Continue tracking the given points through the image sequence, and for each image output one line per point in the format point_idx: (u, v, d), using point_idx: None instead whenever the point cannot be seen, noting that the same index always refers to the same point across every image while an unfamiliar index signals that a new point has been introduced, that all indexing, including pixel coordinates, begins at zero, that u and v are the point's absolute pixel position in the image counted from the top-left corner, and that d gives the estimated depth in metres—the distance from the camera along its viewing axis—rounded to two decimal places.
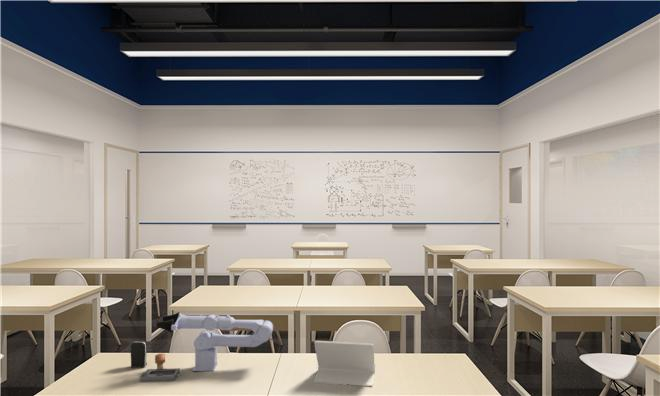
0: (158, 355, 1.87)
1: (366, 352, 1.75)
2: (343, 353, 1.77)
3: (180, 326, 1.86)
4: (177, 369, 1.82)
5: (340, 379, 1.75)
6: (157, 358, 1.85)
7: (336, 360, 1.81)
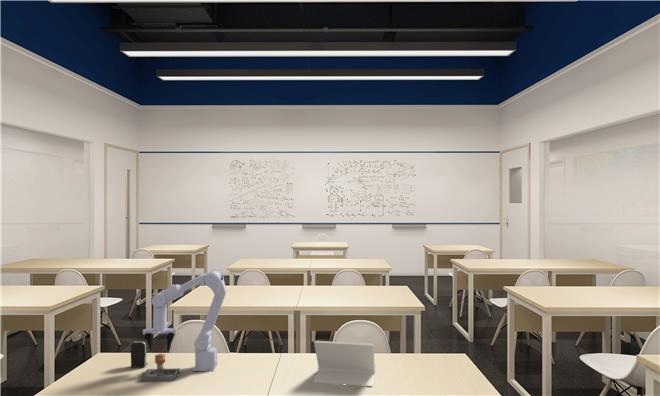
0: (158, 355, 1.87)
1: (366, 352, 1.75)
2: (343, 353, 1.77)
3: (166, 327, 1.88)
4: (177, 369, 1.82)
5: (340, 379, 1.75)
6: (157, 358, 1.85)
7: (336, 360, 1.80)
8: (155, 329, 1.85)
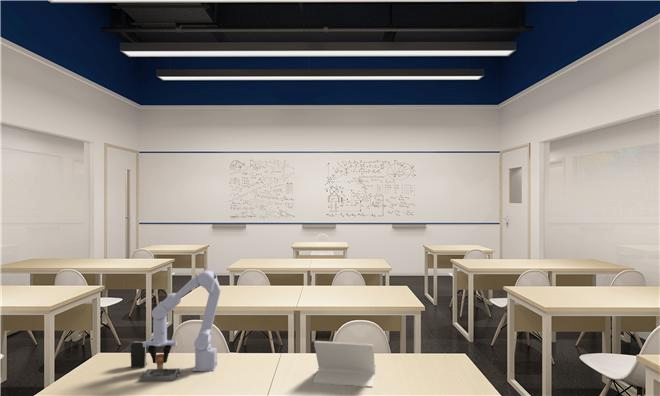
0: (158, 355, 1.87)
1: (366, 352, 1.74)
2: (343, 353, 1.77)
3: (166, 339, 1.88)
4: (177, 369, 1.82)
5: (340, 379, 1.75)
6: (157, 358, 1.85)
7: (336, 360, 1.80)
8: (155, 341, 1.85)
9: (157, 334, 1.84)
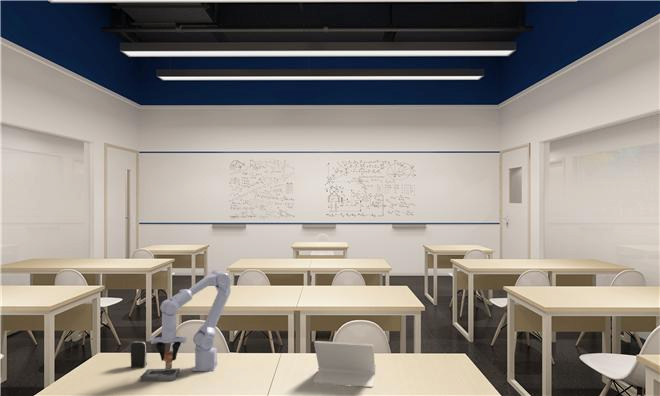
0: (167, 353, 1.79)
1: (366, 353, 1.74)
2: (343, 354, 1.77)
3: (175, 335, 1.81)
4: (177, 369, 1.82)
5: (340, 380, 1.75)
6: (166, 356, 1.78)
7: (336, 360, 1.80)
8: (164, 338, 1.77)
9: (166, 330, 1.77)
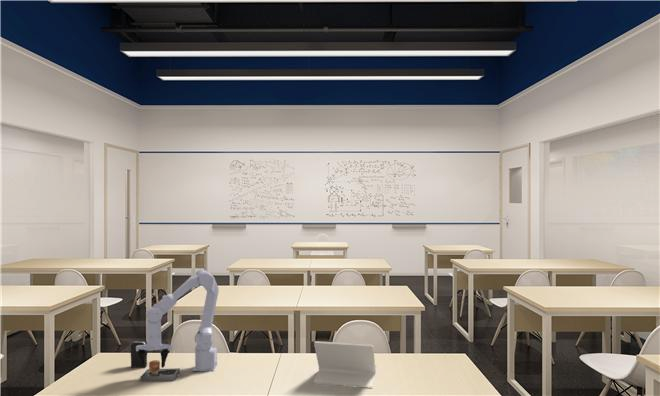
0: (152, 362, 1.79)
1: (366, 353, 1.73)
2: (343, 354, 1.76)
3: None
4: (177, 369, 1.82)
5: (340, 380, 1.74)
6: (152, 365, 1.77)
7: (336, 361, 1.80)
8: (149, 345, 1.77)
9: (151, 338, 1.76)
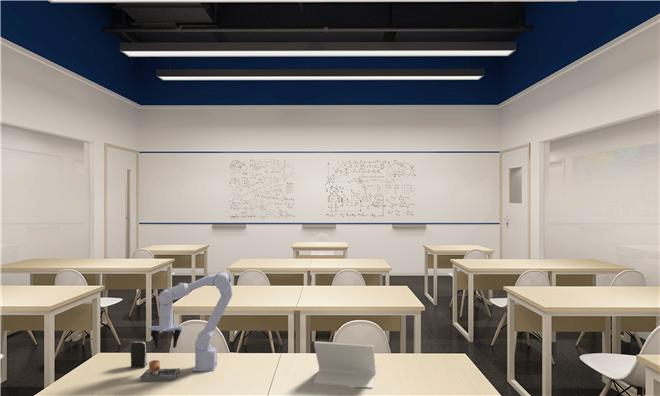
0: (152, 362, 1.79)
1: (366, 353, 1.73)
2: (343, 354, 1.76)
3: (172, 324, 1.88)
4: (177, 369, 1.82)
5: (340, 380, 1.74)
6: (152, 365, 1.77)
7: (336, 361, 1.79)
8: (161, 326, 1.84)
9: (163, 319, 1.84)
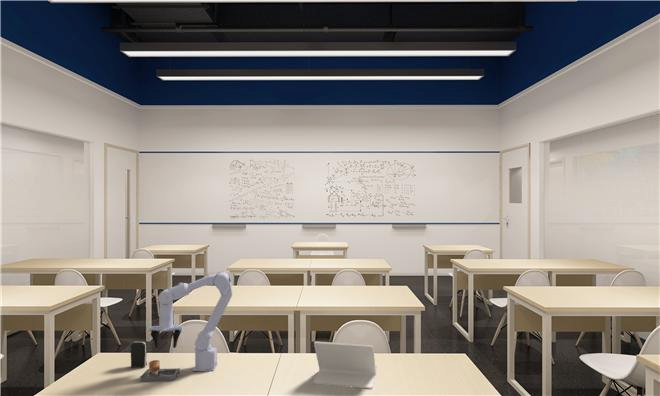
0: (152, 362, 1.79)
1: (366, 354, 1.73)
2: (343, 354, 1.76)
3: (172, 324, 1.88)
4: (177, 369, 1.82)
5: (340, 380, 1.74)
6: (152, 365, 1.77)
7: (336, 361, 1.79)
8: (161, 326, 1.84)
9: (163, 319, 1.84)
